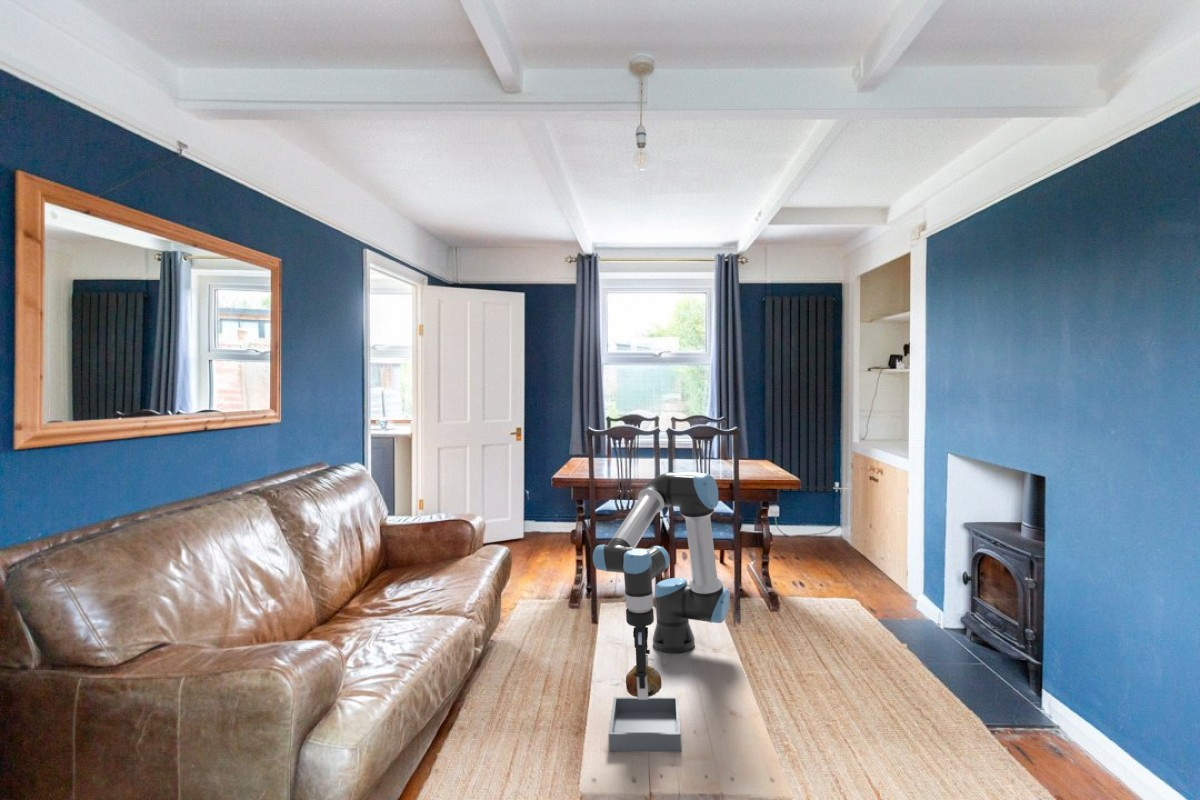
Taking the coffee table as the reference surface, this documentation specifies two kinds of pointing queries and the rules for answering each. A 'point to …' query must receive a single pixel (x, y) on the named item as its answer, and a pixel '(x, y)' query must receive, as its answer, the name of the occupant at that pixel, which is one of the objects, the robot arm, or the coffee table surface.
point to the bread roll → (652, 681)
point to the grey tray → (645, 725)
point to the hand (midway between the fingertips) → (643, 688)
